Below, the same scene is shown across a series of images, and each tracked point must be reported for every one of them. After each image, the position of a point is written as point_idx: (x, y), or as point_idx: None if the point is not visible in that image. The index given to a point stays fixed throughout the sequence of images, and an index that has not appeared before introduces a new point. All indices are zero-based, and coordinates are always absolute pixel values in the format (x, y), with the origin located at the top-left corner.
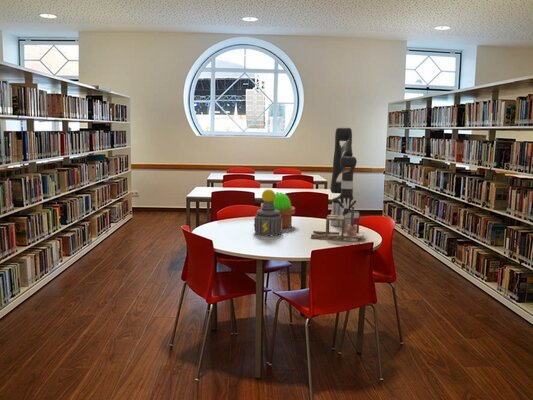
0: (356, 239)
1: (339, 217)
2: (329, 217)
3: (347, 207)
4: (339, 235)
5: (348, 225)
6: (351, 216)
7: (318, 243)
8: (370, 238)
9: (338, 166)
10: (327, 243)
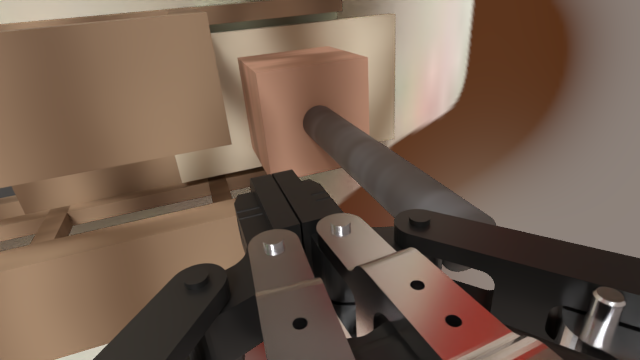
0: None
1: (168, 243)
2: (4, 329)
3: (349, 307)
4: (187, 181)
5: (277, 138)
6: (353, 177)
7: (78, 355)
8: (423, 3)
9: None
10: None
